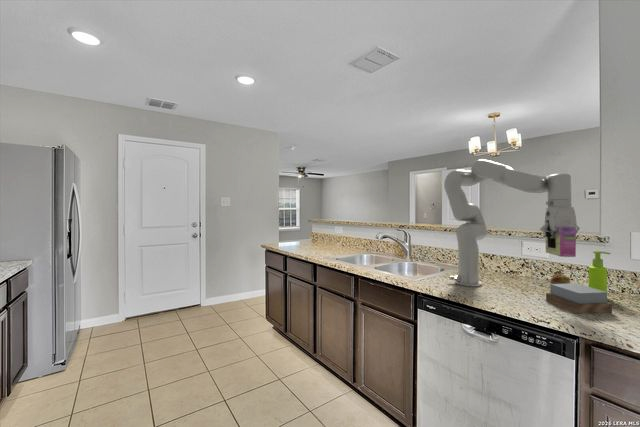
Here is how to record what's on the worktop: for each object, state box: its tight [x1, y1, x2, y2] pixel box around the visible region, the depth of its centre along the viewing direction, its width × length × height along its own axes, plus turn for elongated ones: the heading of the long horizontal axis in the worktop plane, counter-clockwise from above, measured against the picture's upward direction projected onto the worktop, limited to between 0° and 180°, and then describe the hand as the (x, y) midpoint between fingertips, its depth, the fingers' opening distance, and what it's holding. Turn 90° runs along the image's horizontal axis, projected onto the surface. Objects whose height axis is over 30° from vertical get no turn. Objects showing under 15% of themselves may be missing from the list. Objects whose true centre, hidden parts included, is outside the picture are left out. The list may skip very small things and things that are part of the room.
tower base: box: [545, 292, 613, 315], centre depth 117 cm, size 13×15×4 cm
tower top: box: [549, 282, 608, 304], centre depth 117 cm, size 11×13×4 cm
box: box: [545, 227, 577, 258], centre depth 121 cm, size 10×6×12 cm, turn 169°
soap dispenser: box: [587, 250, 612, 293], centre depth 128 cm, size 6×7×20 cm
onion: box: [549, 270, 571, 284], centre depth 145 cm, size 8×8×8 cm
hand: (560, 247), depth 121 cm, fingers closed on box, 6 cm apart
